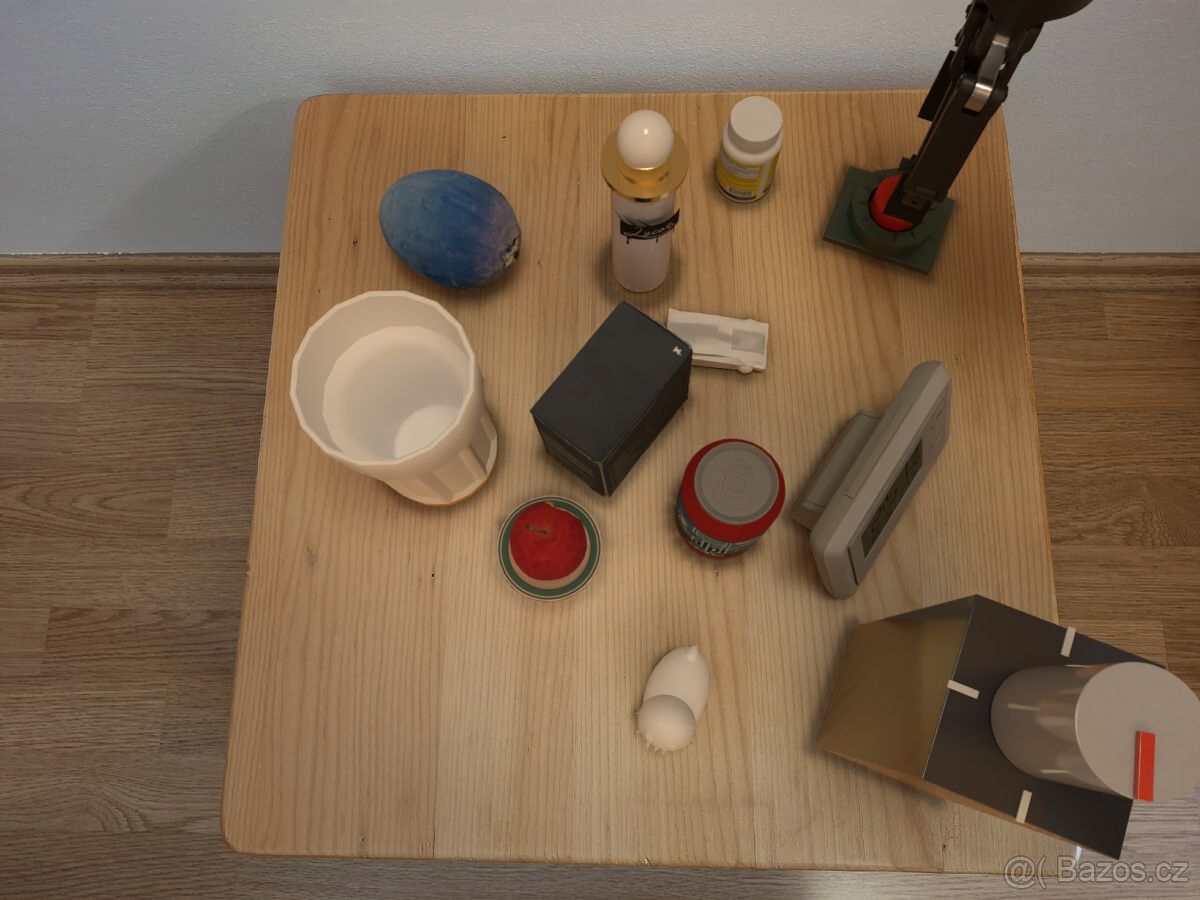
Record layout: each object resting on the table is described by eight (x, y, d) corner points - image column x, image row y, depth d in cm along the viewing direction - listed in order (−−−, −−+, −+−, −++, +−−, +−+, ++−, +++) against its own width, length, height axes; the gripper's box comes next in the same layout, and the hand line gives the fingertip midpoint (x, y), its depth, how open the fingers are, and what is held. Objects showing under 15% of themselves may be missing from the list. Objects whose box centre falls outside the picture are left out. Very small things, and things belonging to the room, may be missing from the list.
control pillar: (974, 672, 64) (1171, 665, 41) (937, 798, 62) (1123, 865, 39) (852, 624, 66) (976, 590, 42) (812, 746, 64) (919, 781, 40)
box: (624, 350, 72) (623, 294, 62) (689, 397, 70) (700, 349, 60) (540, 450, 70) (526, 410, 60) (607, 501, 69) (603, 469, 58)
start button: (926, 196, 72) (933, 184, 70) (911, 238, 71) (918, 227, 69) (878, 180, 73) (884, 168, 71) (863, 221, 72) (869, 210, 70)
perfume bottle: (598, 247, 74) (589, 92, 55) (666, 232, 74) (680, 72, 55) (614, 309, 73) (610, 173, 53) (683, 294, 73) (704, 152, 53)
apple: (489, 508, 69) (476, 490, 62) (591, 488, 69) (588, 468, 63) (507, 611, 67) (494, 603, 60) (612, 590, 67) (610, 580, 60)
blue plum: (528, 261, 63) (349, 182, 65) (520, 347, 70) (359, 272, 72) (584, 198, 68) (416, 127, 71) (571, 283, 75) (419, 216, 77)
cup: (525, 394, 71) (494, 303, 54) (496, 532, 68) (453, 482, 51) (388, 371, 72) (315, 275, 55) (353, 507, 69) (265, 449, 52)
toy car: (668, 314, 72) (669, 302, 70) (767, 323, 72) (771, 312, 70) (662, 368, 71) (663, 357, 69) (763, 378, 71) (767, 368, 69)
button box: (952, 204, 74) (963, 188, 72) (928, 276, 73) (938, 262, 70) (848, 170, 75) (856, 152, 73) (822, 240, 74) (829, 225, 71)
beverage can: (661, 543, 68) (668, 513, 56) (690, 462, 69) (702, 417, 58) (747, 573, 67) (771, 550, 55) (773, 490, 68) (803, 450, 57)
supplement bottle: (753, 145, 76) (768, 80, 68) (782, 188, 75) (800, 128, 67) (704, 169, 76) (713, 107, 68) (732, 213, 74) (745, 155, 66)
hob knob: (994, 656, 42) (1082, 649, 34) (1104, 677, 41) (1219, 675, 33) (985, 767, 40) (1074, 788, 32) (1098, 790, 40) (1216, 816, 32)
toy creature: (622, 738, 64) (621, 744, 58) (663, 634, 66) (667, 629, 60) (681, 765, 63) (687, 773, 57) (721, 658, 65) (731, 656, 59)
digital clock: (833, 613, 66) (872, 599, 56) (744, 526, 68) (765, 498, 57) (976, 463, 68) (1037, 424, 58) (886, 384, 70) (931, 332, 60)
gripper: (1045, -265, 47) (911, 39, 69) (930, 51, 42) (826, 269, 64) (1189, -227, 46) (1007, 69, 68) (1088, 100, 41) (927, 304, 63)
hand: (919, 166), depth 66 cm, fingers open, 8 cm apart
